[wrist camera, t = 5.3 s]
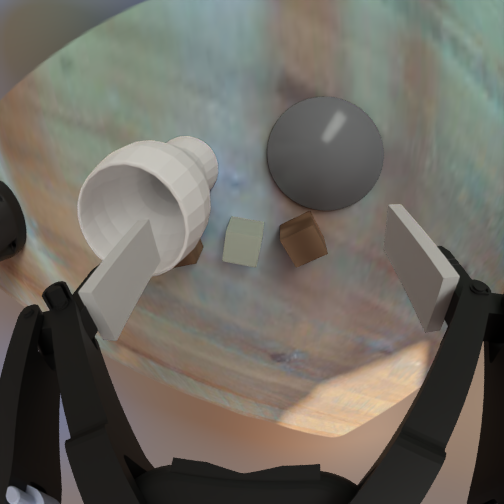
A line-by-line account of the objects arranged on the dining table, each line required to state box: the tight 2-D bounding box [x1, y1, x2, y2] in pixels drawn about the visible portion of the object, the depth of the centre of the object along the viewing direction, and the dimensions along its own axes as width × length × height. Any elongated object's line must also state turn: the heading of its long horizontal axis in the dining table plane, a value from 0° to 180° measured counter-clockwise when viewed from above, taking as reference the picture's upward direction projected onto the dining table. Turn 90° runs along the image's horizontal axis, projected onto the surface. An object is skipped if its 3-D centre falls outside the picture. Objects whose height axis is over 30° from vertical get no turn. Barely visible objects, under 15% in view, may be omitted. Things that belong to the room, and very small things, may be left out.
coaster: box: [267, 96, 384, 210], centre depth 30 cm, size 13×13×1 cm
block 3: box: [280, 211, 328, 267], centre depth 34 cm, size 4×4×4 cm
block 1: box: [173, 239, 203, 268], centre depth 36 cm, size 4×4×4 cm
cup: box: [78, 136, 218, 276], centre depth 26 cm, size 11×11×15 cm
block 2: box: [222, 216, 264, 267], centre depth 35 cm, size 4×4×4 cm
